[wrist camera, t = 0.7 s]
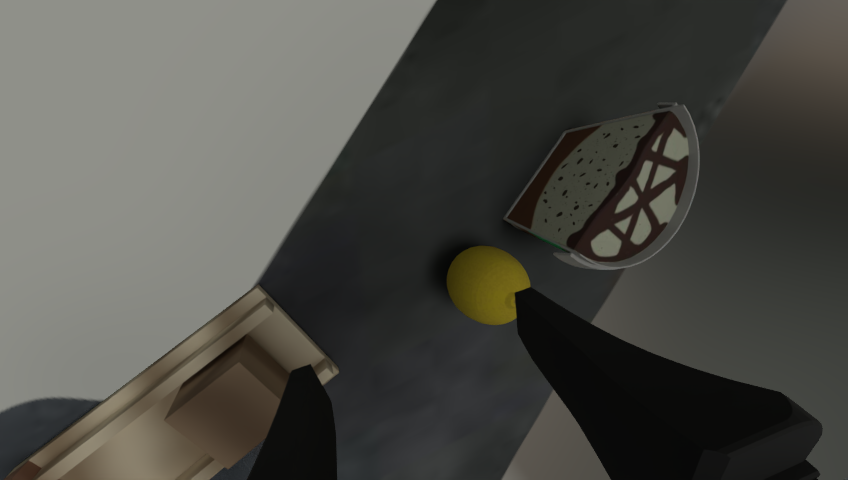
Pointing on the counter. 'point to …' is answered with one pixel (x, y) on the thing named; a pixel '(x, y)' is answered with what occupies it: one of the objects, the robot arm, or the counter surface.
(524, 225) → the food container
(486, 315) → the lemon
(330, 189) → the counter surface
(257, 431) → the block
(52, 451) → the track
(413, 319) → the counter surface
